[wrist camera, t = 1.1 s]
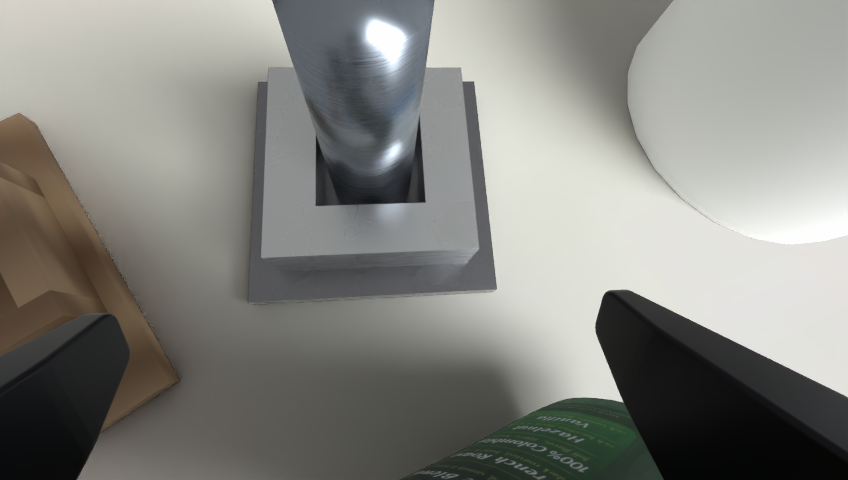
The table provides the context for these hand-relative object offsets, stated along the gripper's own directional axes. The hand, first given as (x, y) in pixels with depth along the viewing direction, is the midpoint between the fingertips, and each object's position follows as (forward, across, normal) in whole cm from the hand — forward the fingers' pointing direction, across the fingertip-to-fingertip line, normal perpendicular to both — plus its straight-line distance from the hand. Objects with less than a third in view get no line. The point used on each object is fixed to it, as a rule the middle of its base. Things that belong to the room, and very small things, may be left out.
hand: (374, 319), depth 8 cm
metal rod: (+14, 0, +3) cm, 15 cm away
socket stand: (+15, 0, +3) cm, 16 cm away
